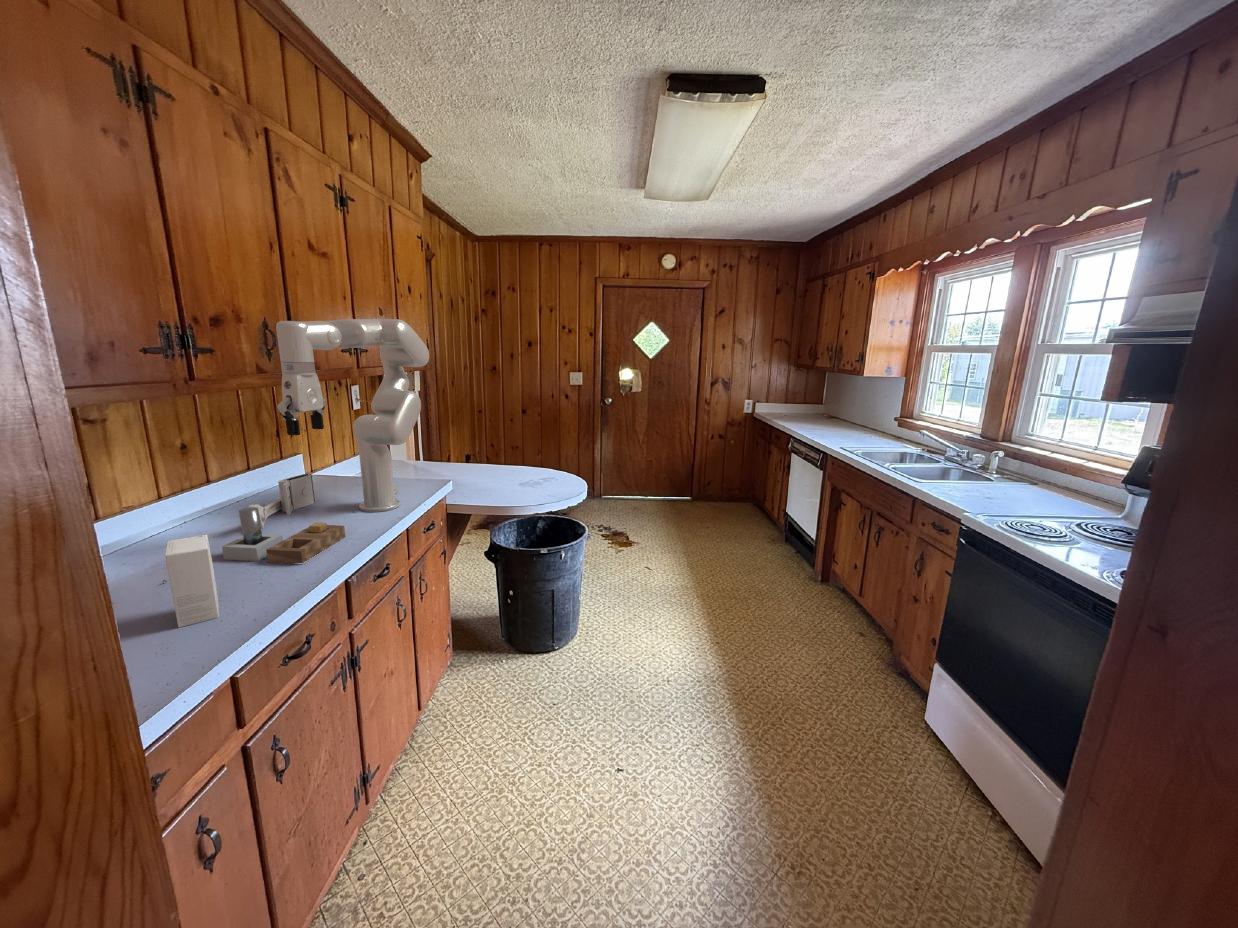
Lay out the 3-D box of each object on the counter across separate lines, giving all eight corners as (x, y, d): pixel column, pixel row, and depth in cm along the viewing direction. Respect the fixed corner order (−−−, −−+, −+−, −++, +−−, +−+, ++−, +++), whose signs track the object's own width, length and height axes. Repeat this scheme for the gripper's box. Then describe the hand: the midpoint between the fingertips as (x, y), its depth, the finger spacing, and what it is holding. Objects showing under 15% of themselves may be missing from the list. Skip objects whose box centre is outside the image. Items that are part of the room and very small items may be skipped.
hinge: (289, 515, 155) (284, 485, 153) (272, 514, 155) (268, 484, 153) (317, 501, 169) (313, 473, 166) (302, 500, 169) (298, 473, 167)
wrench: (290, 512, 166) (255, 534, 138) (284, 512, 166) (247, 534, 137) (288, 489, 165) (252, 506, 137) (282, 489, 165) (244, 507, 136)
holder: (252, 545, 132) (250, 533, 131) (284, 546, 131) (282, 534, 130) (224, 559, 123) (222, 546, 122) (258, 560, 123) (256, 548, 122)
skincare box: (179, 610, 100) (165, 540, 96) (220, 600, 104) (208, 533, 100) (177, 629, 93) (162, 554, 90) (221, 618, 97) (208, 546, 94)
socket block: (315, 535, 139) (313, 524, 139) (345, 536, 139) (344, 525, 138) (268, 562, 122) (266, 549, 121) (302, 564, 122) (300, 551, 121)
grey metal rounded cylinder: (254, 549, 129) (247, 506, 126) (268, 550, 129) (261, 507, 126) (242, 555, 125) (234, 511, 123) (256, 556, 125) (249, 512, 122)
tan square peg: (318, 538, 136) (316, 522, 135) (328, 539, 136) (326, 522, 135) (311, 542, 133) (309, 525, 132) (321, 543, 133) (319, 526, 132)
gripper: (289, 371, 121) (297, 438, 125) (332, 368, 137) (338, 427, 142) (260, 370, 121) (269, 437, 125) (306, 367, 138) (314, 426, 142)
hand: (306, 431), depth 133 cm, fingers open, 9 cm apart
